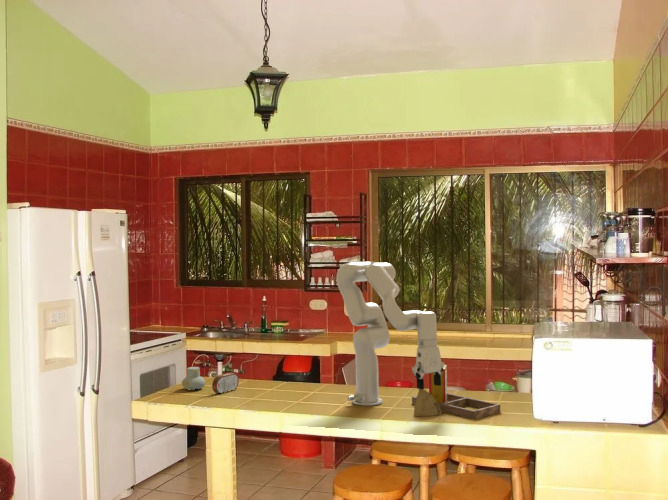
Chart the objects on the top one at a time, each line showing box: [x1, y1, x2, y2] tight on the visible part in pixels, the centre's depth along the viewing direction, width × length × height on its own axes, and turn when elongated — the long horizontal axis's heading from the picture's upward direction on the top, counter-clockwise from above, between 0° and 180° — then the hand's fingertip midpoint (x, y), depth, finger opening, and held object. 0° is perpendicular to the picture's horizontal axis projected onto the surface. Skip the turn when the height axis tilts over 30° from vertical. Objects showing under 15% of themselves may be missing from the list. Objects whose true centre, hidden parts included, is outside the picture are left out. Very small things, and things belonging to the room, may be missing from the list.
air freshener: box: [181, 366, 206, 391], centre depth 326 cm, size 11×8×10 cm
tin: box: [211, 372, 240, 394], centre depth 319 cm, size 15×3×8 cm, turn 144°
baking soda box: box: [428, 364, 448, 403], centre depth 290 cm, size 10×6×16 cm
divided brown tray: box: [411, 392, 501, 420], centre depth 284 cm, size 16×33×3 cm, turn 39°
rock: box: [413, 388, 442, 417], centre depth 273 cm, size 11×9×10 cm
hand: (429, 386), depth 273 cm, fingers open, 9 cm apart
